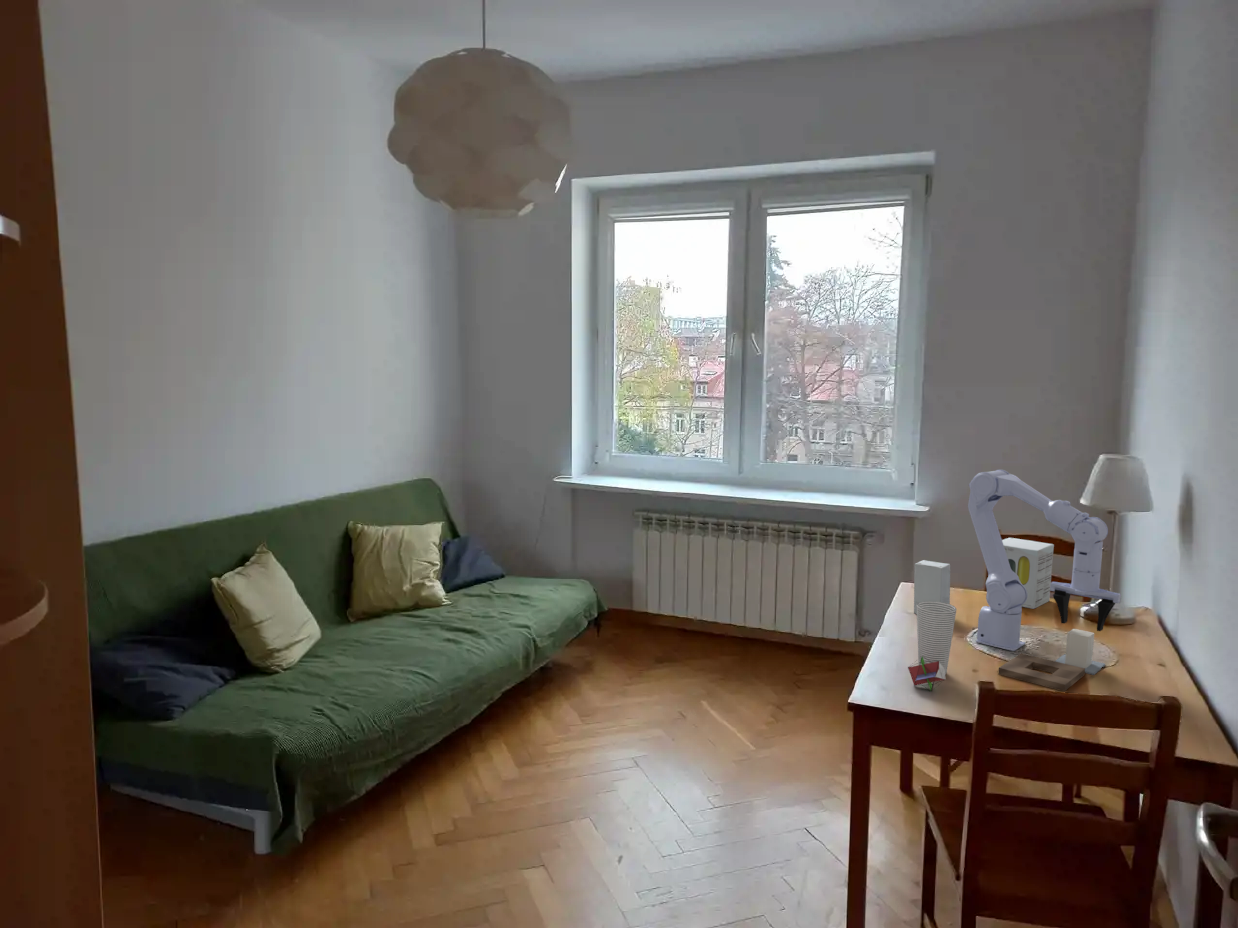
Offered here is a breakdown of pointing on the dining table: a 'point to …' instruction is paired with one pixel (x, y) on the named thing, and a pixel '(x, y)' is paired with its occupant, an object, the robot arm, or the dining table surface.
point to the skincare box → (931, 582)
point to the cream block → (1079, 648)
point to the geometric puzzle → (927, 673)
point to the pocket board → (1058, 680)
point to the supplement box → (1031, 568)
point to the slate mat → (1090, 669)
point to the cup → (935, 631)
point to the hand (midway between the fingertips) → (1081, 626)
